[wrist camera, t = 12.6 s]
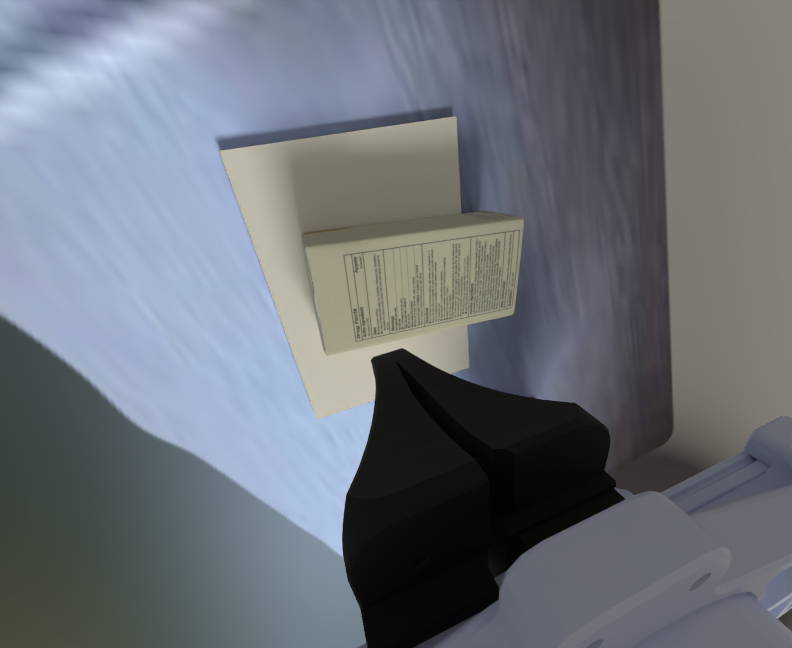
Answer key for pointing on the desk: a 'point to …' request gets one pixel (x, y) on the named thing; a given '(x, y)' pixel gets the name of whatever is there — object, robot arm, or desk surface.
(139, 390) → the desk surface
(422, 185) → the mat
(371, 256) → the skincare box
